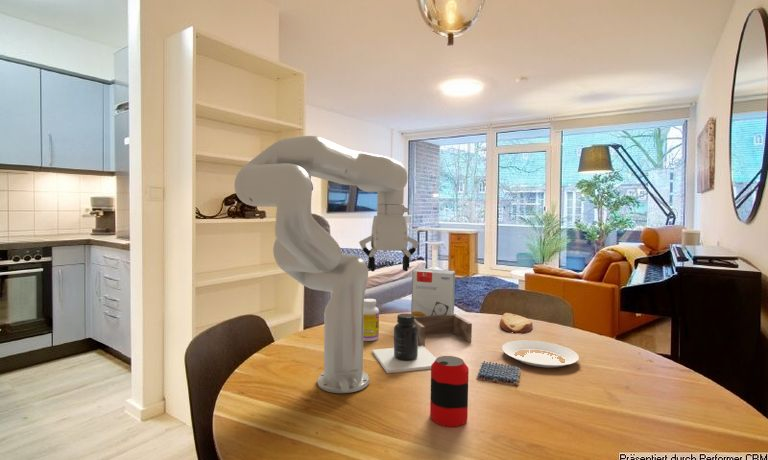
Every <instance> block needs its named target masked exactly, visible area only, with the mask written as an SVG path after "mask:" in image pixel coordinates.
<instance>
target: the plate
mask: <svg viewBox="0 0 768 460" xmlns="http://www.w3.org/2000/svg"><path fill="white" fill-rule="evenodd" d="M501 349H502V352H504V354H506V355H507V356H509V357H511V358H513V359H515V360H517V362H520V363H522V364H524V365H525V364H526V365H528V366H533V367H538V368H539V367H540V368H547V369H549V368H559V367H564V366H568V365H572V364H575V363H577V362H578V361H579V359H580V356H579V354H578V353H577V352H575V351H574V350H572V349H571V348H569V347H566V346H562V345H560V344H557V343H553V342H549V341H548V342H547V341H542V340H536V339H535V340H534V339H533V340H532V339H531V340H530V339H529V340H528V339H522V340H521V339H520V340H519V339H518V340H512V341H507V342H505V343H504V344H503V345H502V346H501ZM519 350H529V353H528V352H527V354H526V353H525V354H526V355H524V357H522V356H520V355H517V356H515V355H514V354H515V352H517V351H519ZM530 350H540V351H546V352H550V353H553V354H556V355H558V356H561V357H562V358H563V359H565V363H561V362H560V361H559V359H557V357H558V356H555V355H552V356H550V354H549V355H547V354H548V353H544V354H542V353H543V352H542V353H535V352H533V353H530ZM552 357H553V359H552ZM555 357H556V358H555Z"/></svg>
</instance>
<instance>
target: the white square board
mask: <svg viewBox="0 0 768 460" xmlns="http://www.w3.org/2000/svg"><path fill="white" fill-rule="evenodd" d="M371 351H372V354H373V356H374V357H375V359H376V360H377V361H378V363H379V365H381V366H382V368H383V369H384V372H386V374H393V373H394V374H395V373H403V372H404V373H405V372H413V371H423V370H425V371H426V370H431V365H432V364H433V363H434V361H435V360H436V359H437V358H438V357H436V356H435V355H434V354H433V353H431V352H430V351H429V350H428V349H427V348H426V347H425V346H421V345H418V356H417V358H416V359H414V360H411V361H402V360H398V359H396V358H395V357H394V347H390V348H388V347H387V348H377V349H376V348H375V349H372V350H371Z"/></svg>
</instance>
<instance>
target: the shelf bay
mask: <svg viewBox="0 0 768 460" xmlns="http://www.w3.org/2000/svg"><path fill="white" fill-rule="evenodd" d="M414 320H415V322H414V324H415V325H416V326H417V328H418V345H419V346H424V347H425V346H426V335H430V334H431V335H434V334H447V333H448V332H449V333H454V334H456V335H457V336H459V338H461V339H463V340H465V341H466V342H467V343H471V342H472V339H473V338H472V334H473V332H472V331H473V330H472V329H473V328H472V327H473V324H472V322H470V321H468V320H467V319H465V318H463V317H461V316H460V315H458V314H456V313H454V314H450V315H434V316H418V317H414Z"/></svg>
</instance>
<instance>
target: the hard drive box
mask: <svg viewBox="0 0 768 460" xmlns="http://www.w3.org/2000/svg"><path fill="white" fill-rule="evenodd" d="M411 271H412V272H411V273H412V274H411V275H412V276H411V302H410V303H411V309H410V314H413V315H414V317H418V316H434V315H450V314H455V290H456V289H455V287H456V286H455V285H456V271H455V270H445V269H433V268H432V269H430V268H415V269H413V270H411Z"/></svg>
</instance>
